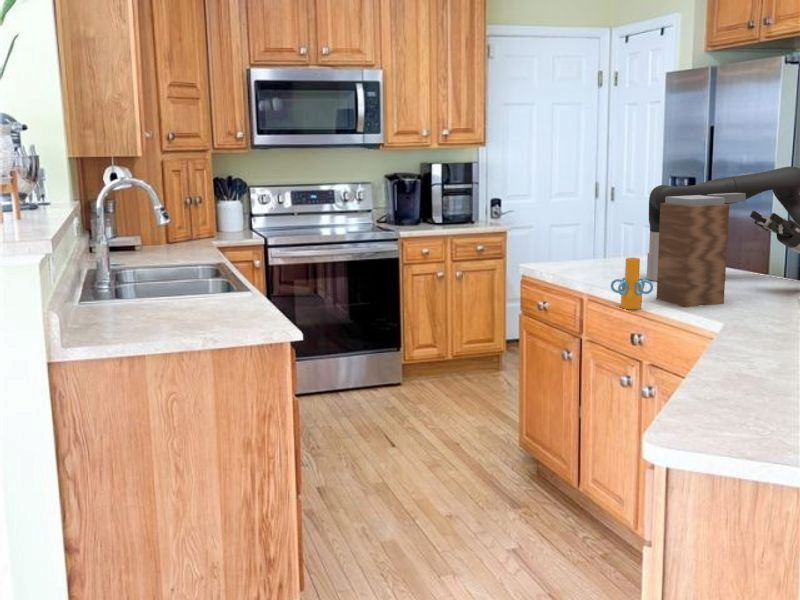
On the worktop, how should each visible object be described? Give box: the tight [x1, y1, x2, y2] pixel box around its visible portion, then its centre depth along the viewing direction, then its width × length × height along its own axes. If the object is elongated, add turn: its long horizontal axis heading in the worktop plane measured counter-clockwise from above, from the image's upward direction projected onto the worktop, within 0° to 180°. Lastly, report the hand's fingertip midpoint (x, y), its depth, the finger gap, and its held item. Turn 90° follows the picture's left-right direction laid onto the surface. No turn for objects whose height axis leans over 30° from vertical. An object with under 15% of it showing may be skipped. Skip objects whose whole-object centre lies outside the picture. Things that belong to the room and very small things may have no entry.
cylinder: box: [610, 256, 654, 311], centre depth 241 cm, size 12×10×15 cm
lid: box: [665, 193, 747, 206], centre depth 246 cm, size 23×12×2 cm, turn 108°
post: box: [656, 203, 731, 308], centre depth 247 cm, size 14×14×30 cm
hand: (761, 214), depth 253 cm, fingers open, 8 cm apart
